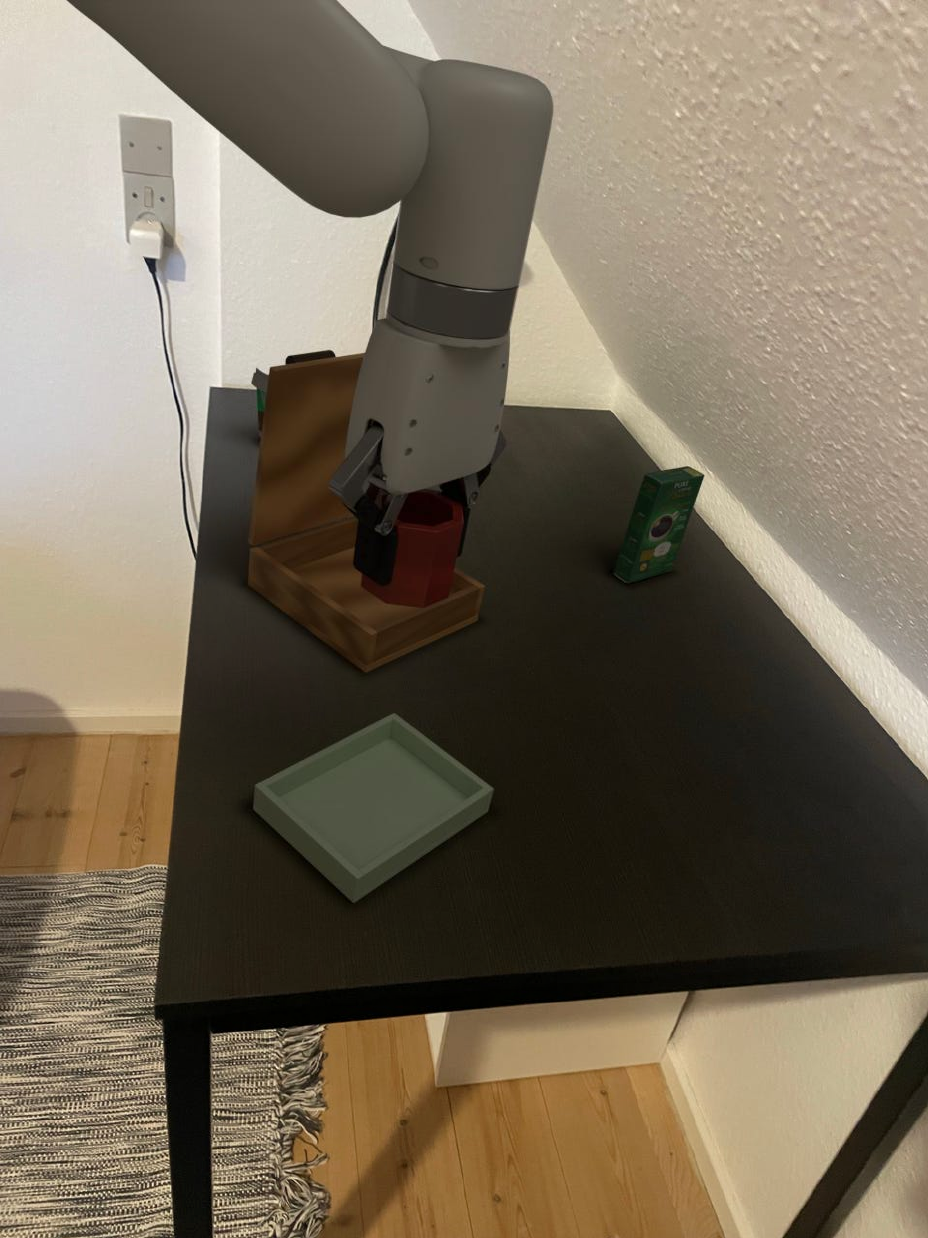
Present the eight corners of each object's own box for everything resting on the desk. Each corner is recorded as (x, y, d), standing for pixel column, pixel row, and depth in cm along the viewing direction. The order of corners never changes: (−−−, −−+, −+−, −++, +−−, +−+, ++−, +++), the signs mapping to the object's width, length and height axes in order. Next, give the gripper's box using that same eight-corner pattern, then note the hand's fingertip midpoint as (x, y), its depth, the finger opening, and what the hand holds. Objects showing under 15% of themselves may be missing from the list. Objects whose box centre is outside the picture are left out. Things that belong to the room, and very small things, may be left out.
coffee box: (656, 560, 115) (688, 462, 108) (673, 572, 114) (707, 473, 107) (610, 573, 111) (641, 471, 104) (628, 585, 109) (660, 483, 102)
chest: (477, 621, 97) (485, 585, 95) (365, 673, 86) (371, 634, 84) (362, 546, 106) (366, 512, 103) (247, 585, 95) (249, 548, 93)
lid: (403, 350, 92) (369, 329, 95) (275, 370, 82) (240, 346, 84) (369, 510, 103) (339, 488, 105) (252, 546, 92) (222, 520, 95)
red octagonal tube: (404, 617, 63) (418, 538, 60) (342, 575, 66) (352, 498, 63) (465, 590, 67) (481, 515, 64) (405, 552, 70) (417, 479, 67)
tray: (353, 904, 64) (357, 879, 63) (252, 809, 70) (254, 784, 69) (488, 811, 74) (494, 788, 73) (390, 735, 80) (394, 712, 78)
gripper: (496, 276, 64) (452, 511, 74) (296, 294, 52) (274, 572, 62) (584, 310, 60) (525, 554, 70) (390, 338, 48) (351, 627, 58)
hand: (408, 560), depth 66 cm, fingers closed on red octagonal tube, 6 cm apart
